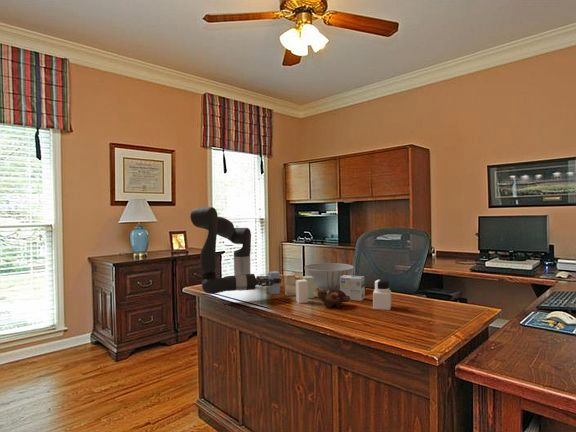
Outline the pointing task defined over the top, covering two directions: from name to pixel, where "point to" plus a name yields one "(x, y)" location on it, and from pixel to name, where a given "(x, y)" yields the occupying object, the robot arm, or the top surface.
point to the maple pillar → (290, 284)
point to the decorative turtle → (333, 297)
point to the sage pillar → (310, 285)
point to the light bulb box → (353, 287)
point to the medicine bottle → (382, 295)
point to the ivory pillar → (302, 291)
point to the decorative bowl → (328, 274)
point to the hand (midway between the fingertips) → (279, 279)
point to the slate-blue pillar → (275, 287)
